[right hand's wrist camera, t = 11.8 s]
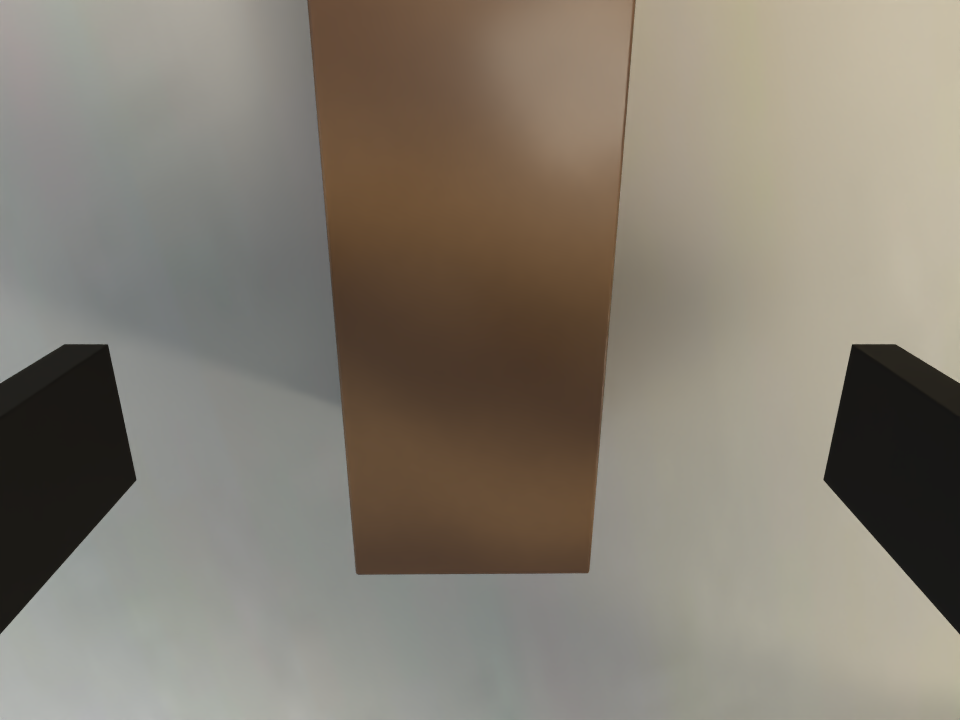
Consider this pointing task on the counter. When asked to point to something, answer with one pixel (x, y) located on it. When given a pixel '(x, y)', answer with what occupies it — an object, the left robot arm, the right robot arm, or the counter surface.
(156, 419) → the counter surface
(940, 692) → the counter surface
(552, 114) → the post
